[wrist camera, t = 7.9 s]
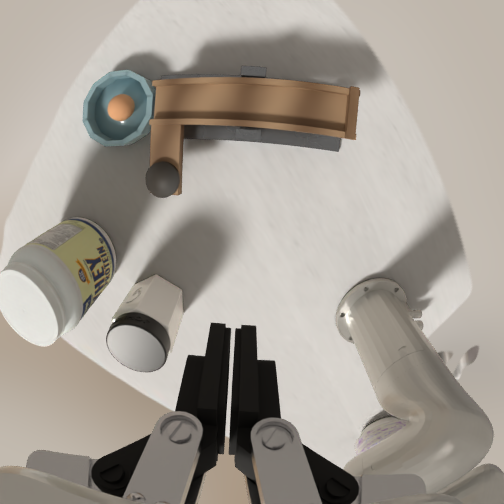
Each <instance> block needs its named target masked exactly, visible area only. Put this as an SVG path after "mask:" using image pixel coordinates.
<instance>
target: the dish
mask: <svg viewBox="0 0 504 504" xmlns="http://www.w3.org/2000/svg"><path fill="white" fill-rule="evenodd" d="M119 94H126V95H128V96H130V97H131V98H132V99H133V100H134V103H135V109H134V112H133V114H132V115H131V116H130V117H129V118H128V119H126V120H124V121H116V120H114V119H112V118H111V117H110V116H109V114H108V104H109V102H110V100H111V99H112V98H113V97H115V96H117V95H119ZM155 97H156V88H155V86H152V81H150V80H148V79H146V78H145V77H143V76H141V75H139V74H137V73H135V72H132V71H130V70H121V71H113V72H109V73H108V74H106V75H105V76H103V77H102V78H101V79H99V80H98V81H97V82H95V83H94V84H93V86H92V87H91V89H90V91H89V93H88V95H87V97H86V98H85V100H84V105H83V123H84V125H85V127H86V129H87V131H88V134H89V136H90V138H92V139H94V140H95V141H97V142H99V143H100V144H102V145H103V146H124V145H130V144H133V143H135V142H136V141H138V140H139V139H141V138H143V137H144V136H146V135H147V134H149V132H150V130H151V125H149V120H150V119H154V110H155Z"/></svg>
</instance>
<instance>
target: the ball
mask: <svg viewBox="0 0 504 504" xmlns="http://www.w3.org/2000/svg"><path fill="white" fill-rule="evenodd" d="M134 109H135V103H134V100H133V99H132V98H131V97H130V96H128V95H126V94H119V95H117V96H115V97H113V98H112V99H111V100H110V102H109V104H108V114H109V116H110V117H111V118H112V119H114V120H116V121H124V120H126V119H128V118H129V117H130V116H131V115H132V114H133V112H134Z"/></svg>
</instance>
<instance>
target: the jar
mask: <svg viewBox="0 0 504 504" xmlns="http://www.w3.org/2000/svg"><path fill="white" fill-rule="evenodd" d="M182 317H183V297H182V289H180V288H179V287H177V286H175V285H173V284H172V283H170V282H168V281H167V280H165V279H163V278H162V277H160V276H158V275H157V274H156V275H153V276H151V277H149V278H147V279H145V280H143V281H141V282H139V283H137V284H135V285H133V287H132V288H131V290H130V291H129V293H128V294H127V296H126V298H125V299H124V301H123V302H122V304H121V305H120V307H119V308H118V310H117V312H116V313H115V315H114V316H113V318H112V325H111V326H110V328H109V331H108V333H107V337H106V342H107V346H108V349H109V351H110V352H111V354H112V355H113V357H114V358H115V359H116V360H117V361H119V362H120V363H121V364H122V365H124V366H126V367H128V368H130V369H132V370H135V371H139V372H153V371H156V370H158V369H160V368H161V367H162V366H163V365H164V364H165V362H166V360H167V356H168V354H170V353H171V352H172V349H173V346H174V343H175V339H176V336H177V333H178V330H179V327H180V323H181V320H182Z"/></svg>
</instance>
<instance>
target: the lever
mask: <svg viewBox="0 0 504 504" xmlns="http://www.w3.org/2000/svg"><path fill="white" fill-rule="evenodd" d="M152 86H155V87H156V97H155V110H154V119H150V120H149V125H151V142H150V168H149V169H148V171H147V174H146V185H147V188H148V189H149V191H150V193H152V194H153V195H154V196H156V197H159V198H165V197H168V196H170V195H180V194H182V163H183V141H184V125H221V126H241V127H255V128H268V129H278V130H288V131H297V132H305V133H312V134H319V135H326V136H333V137H339V138H345V139H351V140H356V134H355V133H356V123H357V113H358V101H359V97H360V90H359V88H358V87H352V86H351V87H350V88H345V87H339V86H332V85H326V84H318V83H311V82H302V81H292V80H281V79H267V78H246V77H200V78H179V79H165V80H154V81H152Z"/></svg>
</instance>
